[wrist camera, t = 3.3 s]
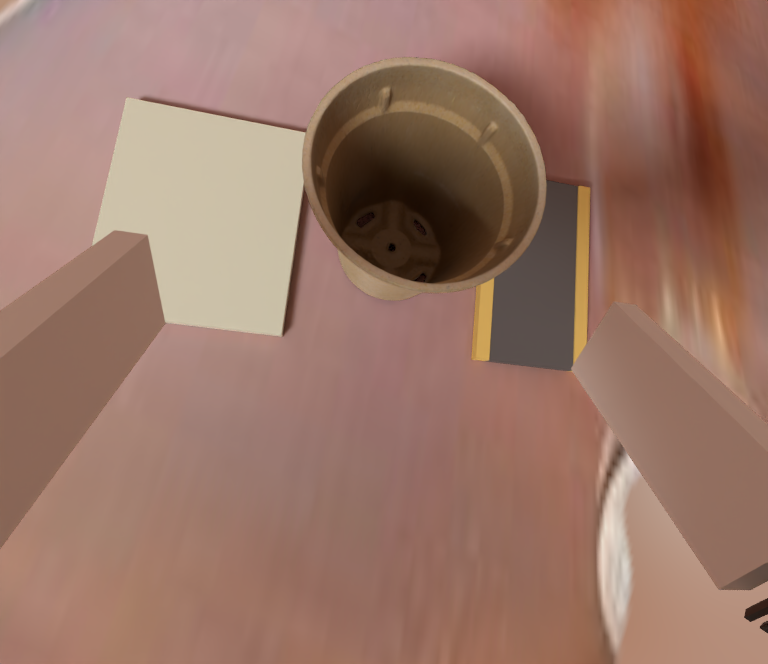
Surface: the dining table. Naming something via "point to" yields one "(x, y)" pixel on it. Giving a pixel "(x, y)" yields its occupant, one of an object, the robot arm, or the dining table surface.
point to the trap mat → (540, 291)
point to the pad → (209, 212)
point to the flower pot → (422, 177)
